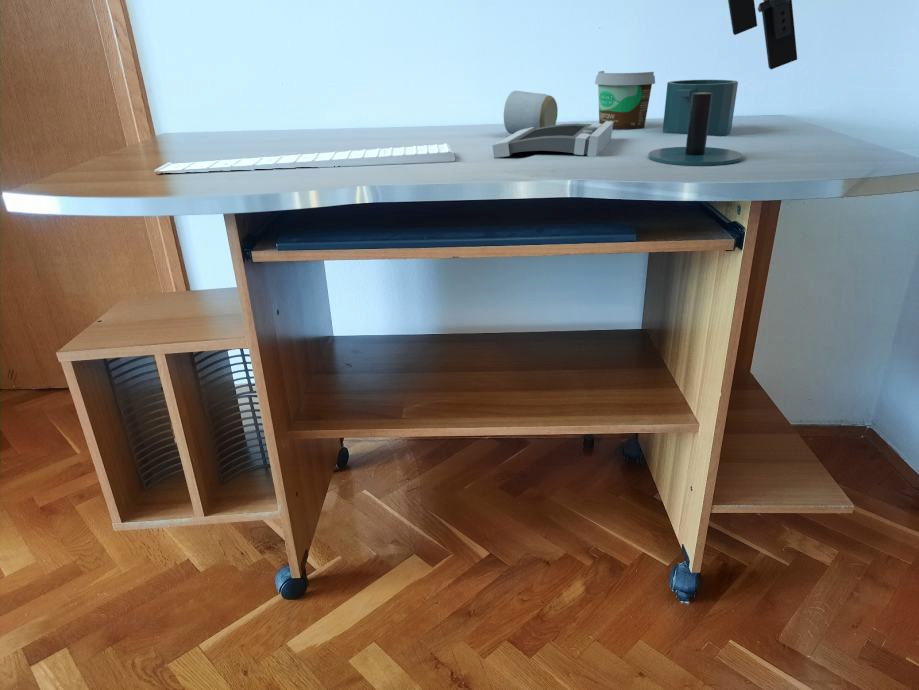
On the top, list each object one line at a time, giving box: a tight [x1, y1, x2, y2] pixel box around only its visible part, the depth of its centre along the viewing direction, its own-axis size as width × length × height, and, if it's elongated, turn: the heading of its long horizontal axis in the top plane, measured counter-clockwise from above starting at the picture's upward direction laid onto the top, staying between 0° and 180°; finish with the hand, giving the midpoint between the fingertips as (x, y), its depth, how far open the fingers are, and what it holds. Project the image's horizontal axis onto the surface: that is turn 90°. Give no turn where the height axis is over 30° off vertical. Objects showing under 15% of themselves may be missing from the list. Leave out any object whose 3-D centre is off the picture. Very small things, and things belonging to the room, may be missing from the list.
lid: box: [647, 92, 744, 167], centre depth 89 cm, size 13×13×9 cm
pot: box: [662, 79, 739, 137], centre depth 114 cm, size 12×17×8 cm
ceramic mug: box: [503, 90, 558, 135], centre depth 119 cm, size 11×8×8 cm
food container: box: [594, 70, 656, 130], centre depth 123 cm, size 12×6×10 cm, turn 42°
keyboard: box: [153, 142, 456, 173], centre depth 99 cm, size 45×8×2 cm, turn 95°
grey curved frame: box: [491, 121, 614, 159], centre depth 103 cm, size 17×5×16 cm
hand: (762, 45), depth 75 cm, fingers open, 13 cm apart
